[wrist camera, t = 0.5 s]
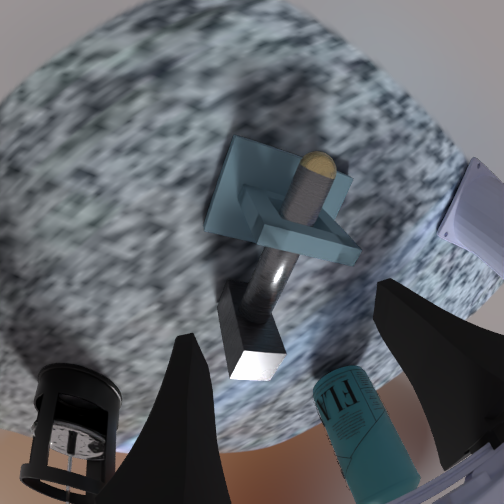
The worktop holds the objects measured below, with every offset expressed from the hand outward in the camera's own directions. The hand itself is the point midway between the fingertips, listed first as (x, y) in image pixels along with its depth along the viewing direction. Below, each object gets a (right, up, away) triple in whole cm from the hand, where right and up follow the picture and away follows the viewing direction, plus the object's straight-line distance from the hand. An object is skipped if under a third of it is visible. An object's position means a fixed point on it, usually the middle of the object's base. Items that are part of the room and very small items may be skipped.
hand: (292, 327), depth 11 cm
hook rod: (-1, +4, +9) cm, 10 cm away
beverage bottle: (+7, -10, +20) cm, 24 cm away
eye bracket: (0, +6, +8) cm, 10 cm away
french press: (-19, -12, +15) cm, 27 cm away
